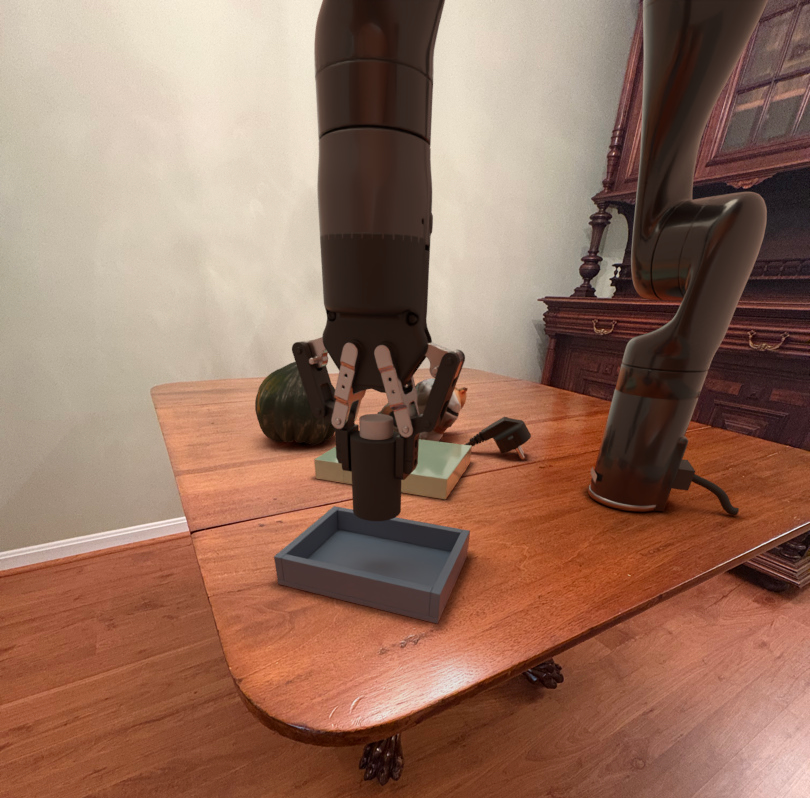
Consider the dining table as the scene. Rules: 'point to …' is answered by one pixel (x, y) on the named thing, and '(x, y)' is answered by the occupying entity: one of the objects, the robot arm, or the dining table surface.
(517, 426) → the power plug
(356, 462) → the dark brown bottle
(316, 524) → the blue-grey tray
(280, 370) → the squash
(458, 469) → the drain board
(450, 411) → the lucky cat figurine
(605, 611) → the dining table surface
